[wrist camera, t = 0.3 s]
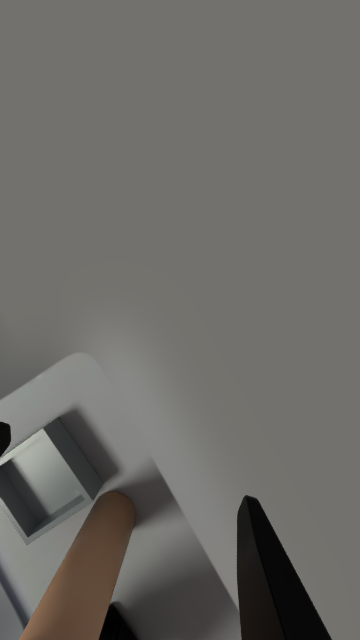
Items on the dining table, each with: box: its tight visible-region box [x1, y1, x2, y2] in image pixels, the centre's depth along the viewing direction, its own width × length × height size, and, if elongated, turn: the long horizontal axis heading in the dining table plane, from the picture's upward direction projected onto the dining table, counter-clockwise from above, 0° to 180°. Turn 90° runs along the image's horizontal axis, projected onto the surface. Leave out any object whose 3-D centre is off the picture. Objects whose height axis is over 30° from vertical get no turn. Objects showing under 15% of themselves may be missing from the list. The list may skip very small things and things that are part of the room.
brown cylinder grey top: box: [19, 492, 136, 640], centre depth 19 cm, size 5×5×12 cm
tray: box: [0, 418, 103, 545], centre depth 25 cm, size 9×9×2 cm
